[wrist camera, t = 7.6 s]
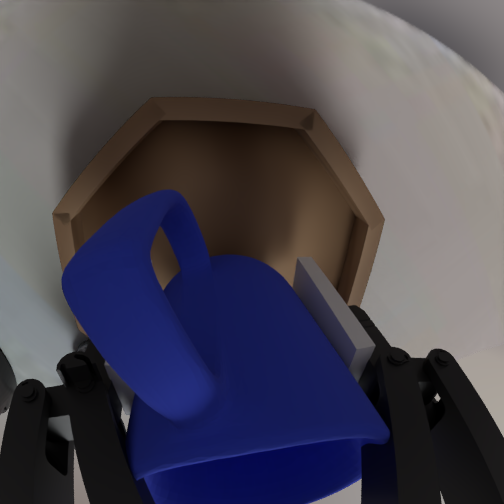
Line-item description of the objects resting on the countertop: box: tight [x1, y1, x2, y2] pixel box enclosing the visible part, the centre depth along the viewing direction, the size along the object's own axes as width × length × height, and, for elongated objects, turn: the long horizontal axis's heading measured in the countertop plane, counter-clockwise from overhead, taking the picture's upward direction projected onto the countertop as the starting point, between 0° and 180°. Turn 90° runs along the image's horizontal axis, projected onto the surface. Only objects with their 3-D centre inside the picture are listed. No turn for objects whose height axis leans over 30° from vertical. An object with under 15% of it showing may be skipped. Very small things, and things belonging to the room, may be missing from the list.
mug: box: [62, 189, 390, 504], centre depth 10 cm, size 8×12×10 cm
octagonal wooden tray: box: [52, 97, 385, 336], centre depth 16 cm, size 17×17×4 cm
